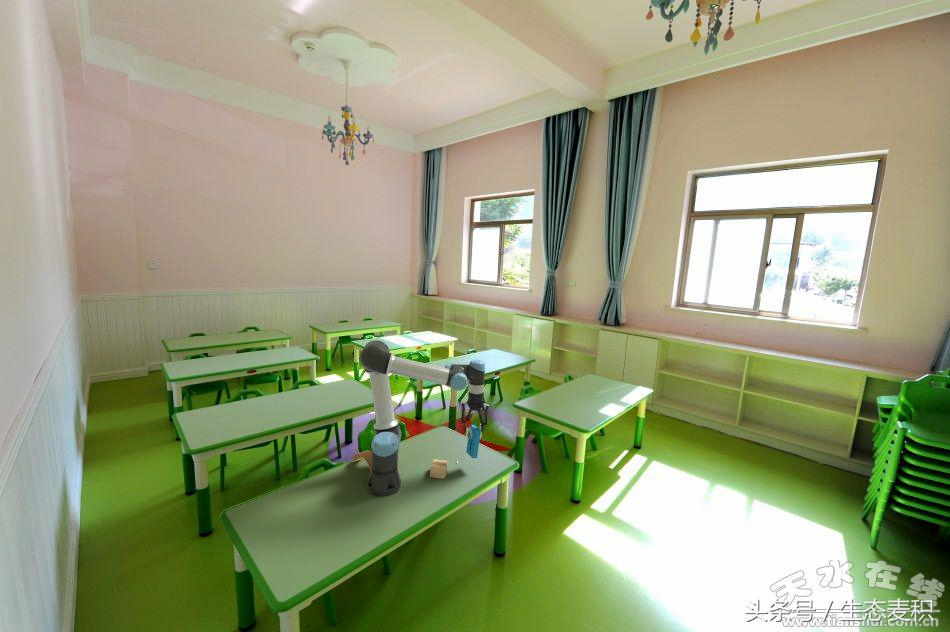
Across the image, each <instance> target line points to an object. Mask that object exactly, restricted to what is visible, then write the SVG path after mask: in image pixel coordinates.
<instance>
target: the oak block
mask: <svg viewBox="0 0 950 632" xmlns="http://www.w3.org/2000/svg"><path fill="white" fill-rule="evenodd" d="M448 465H449V461H448V460H442V459H433V460H432V462H431V464H430V467H429V468H430V470H429V478H436V479H437V478H438V479H443V480H445V479H446V475H447V472H448Z"/></svg>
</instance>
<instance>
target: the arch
mask: <svg viewBox="0 0 950 632" xmlns="http://www.w3.org/2000/svg"><path fill="white" fill-rule="evenodd" d="M361 457H363V459H362V458H361ZM359 458H361V460H364V461H365V462H366V464H367V466H368V469H369V472H370V473H371V461H372V450H364V451H361V452H359V453H358V452H357V453H355V454H353V457H352V458H351V463H352V464H354V463H357V462H356V461H354V460H357V459H359ZM352 461H354V462H352ZM370 473H369V474H370Z"/></svg>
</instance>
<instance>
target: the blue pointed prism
mask: <svg viewBox="0 0 950 632" xmlns="http://www.w3.org/2000/svg"><path fill="white" fill-rule="evenodd" d="M465 426H466V427H467V428H468V429H469V432H468V438H467V442H466V443H467V444H466V451H465V452H466V454H467V455H468V456H469V457H470V458H471V459H477V458H478V456H479V455H478V453H479V447H480V440H481V439H480V432H481V430H480V427H477V426H476V425H475V424H473V423H472V421H471V420H468V421H466V422H465ZM481 433H482V432H481Z"/></svg>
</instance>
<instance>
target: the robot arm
mask: <svg viewBox="0 0 950 632" xmlns="http://www.w3.org/2000/svg"><path fill="white" fill-rule="evenodd" d="M390 351H391V350H390V347H389V345H388V344H387V343H386V342H385V341H384V340H381V339H373V340H371V341H369V342H367V343H366V344H365V345H364V347H363V348H362V349H361V351H360V353H359V363H360V365H361V366H362V367H363V368H364V370H365V371H364V372H365V373H366V374H368V376H369V383H370V387H371V388H370V389H371V395H372V401H373V407H374V408H373V409H374V416H375V420H376V421H375V423H374V424H373V430H374V431H373V432H374V436H373V438H372V440H371V444H370V445H371V451H372V461H371V473H369V476H368V478H367V481H366V490H367V492H368V493H369V494H372V495H374V496H381V497H384V496H390V495H393V494H395V493H397V492H398V491H400V489H401V487H402V478H401V476H400V472H399V466H398V465H399V451H400V444H401V439H402V430H401V427H400V426H399V419H398V420H397V418H396V417H395V413H394V412H395V411H394V405H393V398H392V392H391V391H392V390H391V385H390V379H389V374H392V375H397V376H401V377H404V378H405V377H406V378H410V379H415V380H420V381H424V382H428V383H434V384H437V385H443V386H447V387H451V388H452V389H453V390H454V391H457V392H460V391H463V390H465V389H466V388H467V385H468V389H467V390H468V392H467V393H468V394H467V401H466V402H464V401H462V402H461V404H460V405H461V417H460V423H462V424H464V428H463V429H464V431H466V432H465V438H467V439H468V435H469V429H468V428H467V427H466V426H465V422H466V421H469V419H470V416H471V413H472V411H475V412H477V414H478V418H479V421H480V424H479V429H480V430H481V432H480V440H481V439H482V433H483V432H484V430H485V426H487V425H488V423H489V407H490V405H489V403H485V402H484V391H485V378H486V377H485V376H486V363H485V361H484V360H481V359H471V360H470V361H469V364H460V363H459V364H458V363H454V364H453V363H451V364H450V363H449V364H445V366H444V367H443V366H438V365H434V364H429V363H425V362H422V361H418V360H412V359H408V358H404V357H400V356H396V355H394V353H392V352H390ZM467 406H468V408H469V410H468V412H467V415H466V414H465V413H466V407H467ZM483 408H484V416H483V413H482V409H483ZM465 415H466V418H465Z"/></svg>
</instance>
